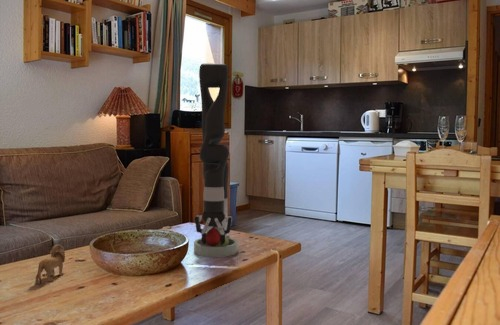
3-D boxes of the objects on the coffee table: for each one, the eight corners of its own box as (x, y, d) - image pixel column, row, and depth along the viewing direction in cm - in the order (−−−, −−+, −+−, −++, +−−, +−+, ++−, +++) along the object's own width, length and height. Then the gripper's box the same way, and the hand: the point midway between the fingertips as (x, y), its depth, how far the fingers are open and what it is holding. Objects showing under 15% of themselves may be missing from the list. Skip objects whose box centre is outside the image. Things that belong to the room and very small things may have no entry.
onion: (213, 250, 156) (214, 228, 156) (202, 247, 160) (202, 226, 159) (224, 247, 161) (224, 226, 160) (212, 244, 164) (213, 224, 164)
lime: (216, 247, 168) (217, 234, 168) (229, 247, 168) (229, 235, 168) (214, 250, 163) (214, 237, 163) (227, 251, 163) (228, 238, 163)
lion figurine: (51, 270, 140) (51, 243, 139) (68, 270, 140) (68, 243, 139) (31, 286, 125) (30, 255, 124) (50, 286, 125) (49, 255, 125)
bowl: (199, 246, 172) (199, 236, 171) (239, 248, 170) (239, 237, 170) (189, 258, 156) (190, 246, 155) (234, 260, 154) (234, 248, 154)
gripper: (234, 198, 162) (233, 242, 163) (196, 196, 163) (196, 240, 164) (231, 200, 155) (231, 247, 156) (192, 199, 156) (191, 245, 157)
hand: (213, 243), depth 160 cm, fingers closed on onion, 6 cm apart
